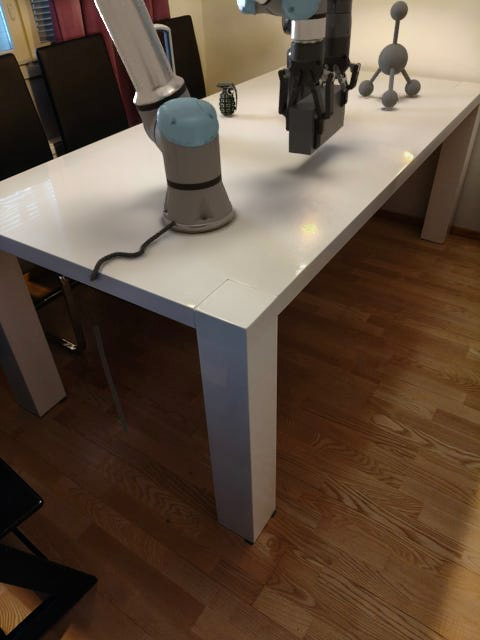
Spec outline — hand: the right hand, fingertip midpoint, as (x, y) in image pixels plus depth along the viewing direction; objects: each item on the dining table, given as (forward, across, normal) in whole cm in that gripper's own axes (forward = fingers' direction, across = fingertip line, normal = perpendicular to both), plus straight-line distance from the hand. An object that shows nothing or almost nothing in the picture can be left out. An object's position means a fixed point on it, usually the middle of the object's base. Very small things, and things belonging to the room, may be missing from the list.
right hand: (331, 104), depth 131 cm
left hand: (+5, 0, +18) cm, 19 cm away
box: (+6, 0, +9) cm, 11 cm away
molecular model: (+12, -4, -56) cm, 58 cm away
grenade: (+12, +44, -20) cm, 50 cm away
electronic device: (+12, +51, +5) cm, 53 cm away
